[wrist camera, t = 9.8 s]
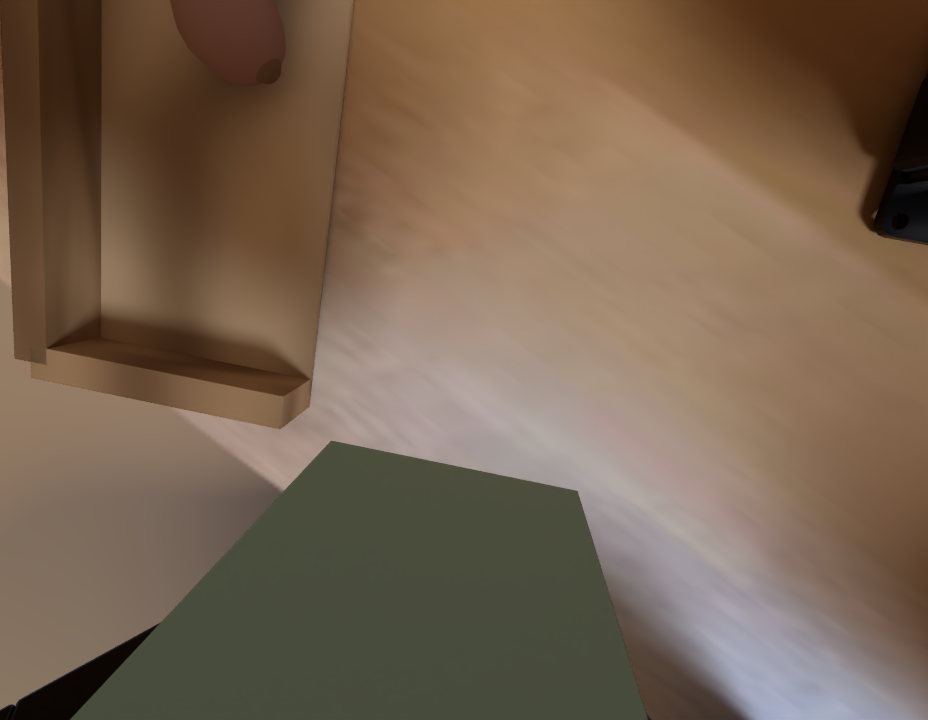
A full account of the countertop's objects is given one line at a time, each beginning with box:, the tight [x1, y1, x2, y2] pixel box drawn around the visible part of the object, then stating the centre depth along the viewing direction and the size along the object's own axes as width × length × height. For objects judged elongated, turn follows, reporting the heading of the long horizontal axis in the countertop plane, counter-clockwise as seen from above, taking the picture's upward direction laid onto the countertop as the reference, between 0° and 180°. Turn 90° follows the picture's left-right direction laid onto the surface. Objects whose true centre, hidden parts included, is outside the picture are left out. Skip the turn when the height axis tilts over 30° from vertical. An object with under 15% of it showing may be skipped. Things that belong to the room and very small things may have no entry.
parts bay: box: [0, 0, 354, 429], centre depth 16 cm, size 10×20×2 cm, turn 170°
